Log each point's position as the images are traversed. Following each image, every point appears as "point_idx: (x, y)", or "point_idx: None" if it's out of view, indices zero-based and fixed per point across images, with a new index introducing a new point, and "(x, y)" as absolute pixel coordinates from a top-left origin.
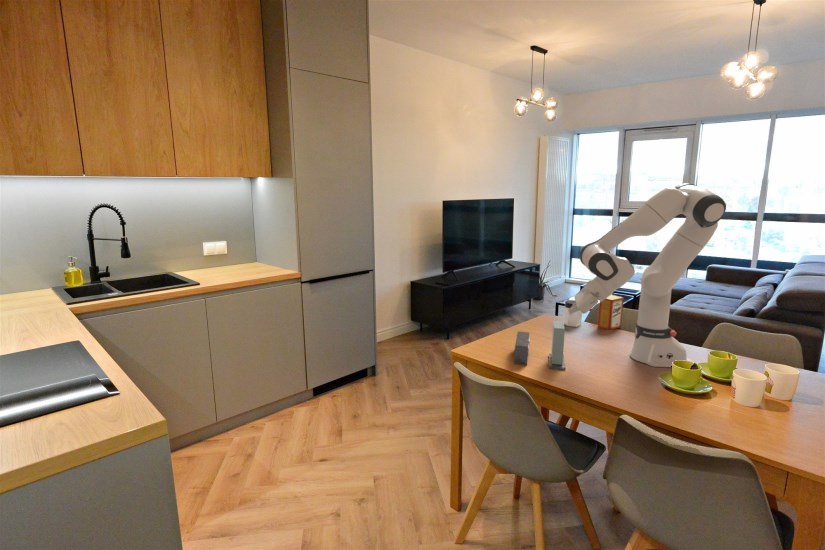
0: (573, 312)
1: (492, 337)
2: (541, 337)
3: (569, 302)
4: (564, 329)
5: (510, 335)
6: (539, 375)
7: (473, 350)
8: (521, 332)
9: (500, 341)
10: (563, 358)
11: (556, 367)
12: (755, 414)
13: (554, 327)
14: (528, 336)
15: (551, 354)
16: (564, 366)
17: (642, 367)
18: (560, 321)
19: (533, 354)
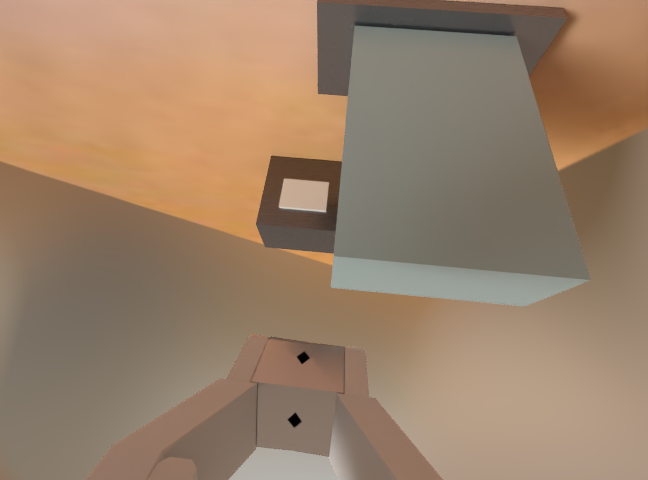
0: (367, 389)
1: (211, 225)
2: (60, 97)
3: None
4: (586, 273)
5: (152, 192)
6: (572, 141)
7: (333, 253)
8: (273, 241)
9: (233, 214)
10: (390, 12)
11: (529, 71)
12: None
13: (513, 303)
14: (317, 230)
15: (330, 82)
16: (539, 21)
17: None
18: (334, 268)
19: (321, 144)
